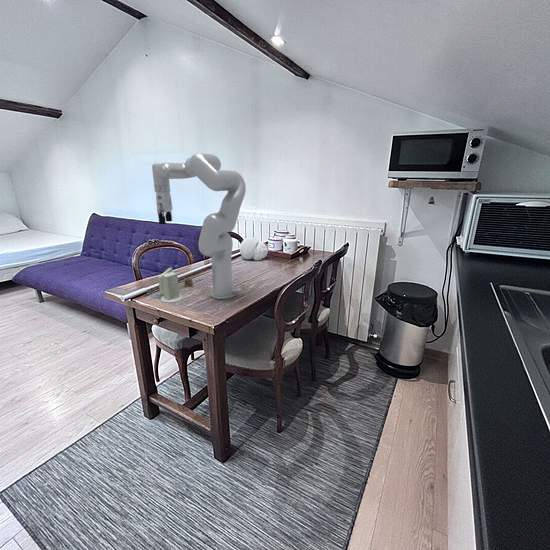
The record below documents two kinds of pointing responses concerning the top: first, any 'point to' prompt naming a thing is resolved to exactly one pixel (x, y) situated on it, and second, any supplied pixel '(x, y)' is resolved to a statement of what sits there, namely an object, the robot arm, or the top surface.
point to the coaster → (171, 299)
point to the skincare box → (170, 285)
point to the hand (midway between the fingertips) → (165, 222)
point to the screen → (161, 282)
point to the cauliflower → (253, 249)
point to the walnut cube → (188, 282)
